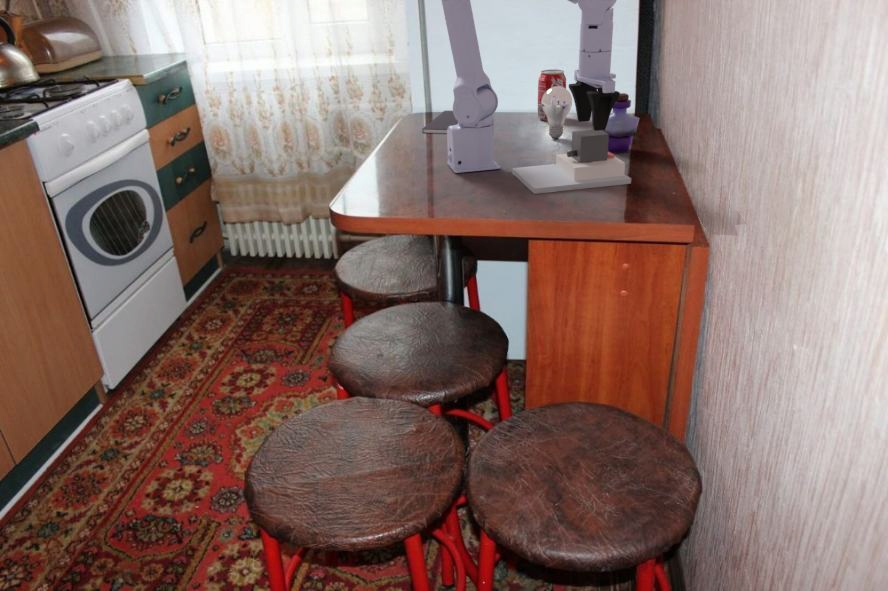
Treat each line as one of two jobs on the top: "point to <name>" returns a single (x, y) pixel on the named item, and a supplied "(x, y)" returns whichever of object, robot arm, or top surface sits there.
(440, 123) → the notebook
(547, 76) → the soda can
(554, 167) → the socket mat
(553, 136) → the light bulb
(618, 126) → the potion bottle
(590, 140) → the plug
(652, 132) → the top surface
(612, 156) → the socket plate
